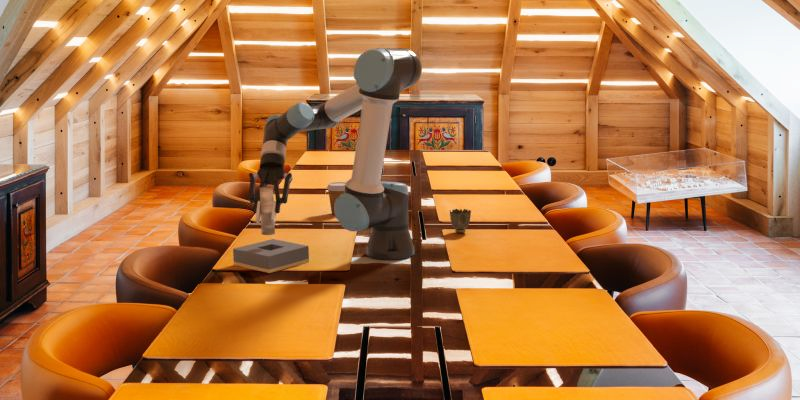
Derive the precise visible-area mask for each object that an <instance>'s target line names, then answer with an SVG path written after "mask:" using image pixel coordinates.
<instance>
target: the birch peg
mask: <svg viewBox="0 0 800 400" xmlns="http://www.w3.org/2000/svg"><path fill="white" fill-rule="evenodd" d="M274 199H275V198H274V186H273V187H272V186H267V187H261V188H260V209H261V216H260V226H261V227H260V228H261V229H260V231H261V235H263V236H272V235H275V234H276V231H275V230H276V229H275V228H276V227H275V224H276V223H275V224H272V221H271V215H272V207H273V201H275V200H274Z"/></svg>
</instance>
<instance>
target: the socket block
mask: <svg viewBox="0 0 800 400" xmlns="http://www.w3.org/2000/svg"><path fill="white" fill-rule="evenodd" d="M309 251H310V250H309V245H305V244H300V243H296V242H291V241H285V240H280V239H275V238H271V239H267V240H263V241H259V242H254V243H251V244H247V245H243V246H242V245H241V246H240V247H234V248H232V253H233V254H232V256H233V265H234V266H238V267H241V268H245V269H246V268H247V269H251V270H255V271H259V272H263V273H268V274H271V273H274V272H279V271H281V270H285V269H289V268H293V267H295V266H299V265H303V264H306V263H309V262H310V255H309V254H310V252H309Z"/></svg>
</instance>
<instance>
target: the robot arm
mask: <svg viewBox="0 0 800 400" xmlns="http://www.w3.org/2000/svg"><path fill="white" fill-rule="evenodd" d="M422 66H423V65H422V62H421V59H420V57H419V56H418V55H417V54H416V53H415V52H414V51H413V50H410V49H408V48H403V47H396V48H389V47H387V48H386V47H378V48H371V49H368V50H365V51H364V52H363V53H361V54H360V55H359V56H358V57H357V60H356V61H355V64H354V68H353V77H354V80H355V85H352V86H350V87H349V88H347V89H346V90H344V91H342V92H341V93H339V94H336V95H335V96H333V97H331V98H330V99H328V100H327V101H325V102H323V103H321V104H318V105H313V106H312V105H311V106H310V105H309V104H308V103H305V102H301V101H299V102H297V103H296V104H294V105H291V107H289V109H288V110H286V111H285V112H283V113H282V114H274V115H270V116H268V117H267V118H266V121H265V125H264V128H263V131H264V132H263V138H262V140H263V141H262V146H261V153H260V155H261V157H260V161H259V169H258V170H257V172H254V173H252V172H249V173H248V177H249V188H248V189H249V191H248V201H249V204H251V205H252V204H253V212H254V214H255V223H256V225H261V209H260V188H261V187H268V185H269V186H270V185H273V190H274V196H275V200H274V201H273V207H272V215H271V221H272V224H276V219H277V218H276V216H277V214H280V212H281V205H282V204H288V199H289V198H288V197H289V191H290V185H291V183H292V181H293V175H292V173H291V172H288V173H286V172H285V163H286V162H285V161H286V156H287V155H286V153H287V144H288V141H289V140H291V139H292V138H293V137H294V136H296V135H297V134H298V133H300V132H307V131H315V130H323V129H324V130H326V129H332V128H336V127H337V126H338V125H339V124H340V123H341V121H342V120H345V118H348V117H350V116H352V115H353V114H355V113H357V112H359V111H360V110H361V112H360V118H359V125H358V131H357V132H358V133H357V138H356V146H355V152H354V160H353V165H352V173H351V177H350V179H348V180H346V181H345V182H346V183H345V190H344V194H341V195H340V196H339V197H338V198H337V199H336V201H335V204H334V212H335V215H334V216H335V218H336V220H337V222H338V223H339V224H340V226H341V227H342V228H343V229H345V230H347V231H349V232H362V231H366V230H367V229H368V230H369V229H371V232H370V235H369V239H368V240H367V241H368V242H367V245H366V248H365V249H366V250H365V251H366V256H367V257H369V258H371V259H374V260H375V259H376V260H382V261H383V260H385V261H386V260H387V261H388V260H392V261H394V260H402V259H408V258H411V257H413V256H414V255H415V245H414V244H413V240H412V236H411V234H410V230H409V221H410V220H409V198H410V196H409V187H408V185H407V184H406V183H403V182H399V181H397V182H396V181H384V180H382V181H381V179H382V174H383V173H382V172H383V166H384V162H385V161H384V160H385V155H386V149H387V142H388V135H389V129H390V123H391V118H392V112H393V111H392V110H393V105H394V104H395V103H396V102H397V101H399V99H400V96H401V92H403V91H406V90H407V89H409V88H411V87H414V86H415V85H416V84H417V83H418V81H420V78H421V76H422V72H423V67H422ZM258 179H259V180H260V182H259V185H258V188H257V191H256V182H257V180H258ZM282 179H284V182H283V189H282V190H283V191H282V194H280V193H281V192H280V185H279V183H280V181H281V180H282ZM281 195H282V196H281Z"/></svg>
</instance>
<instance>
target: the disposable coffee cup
mask: <svg viewBox="0 0 800 400" xmlns="http://www.w3.org/2000/svg"><path fill="white" fill-rule="evenodd" d="M346 182H347V181H345V182H343V181H339V182H338V181H337V182H334V181H333V182H329V183H328V184H327V186H326V189H327V191H328V196H329V203H330V211H331V215H332V216H335V212H334V204H335V201H336V199H337V198H338V197H339V196H340V195H341V194H344V190H345V183H346Z"/></svg>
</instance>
